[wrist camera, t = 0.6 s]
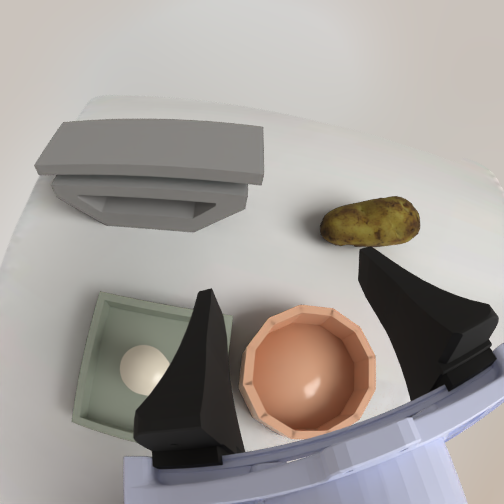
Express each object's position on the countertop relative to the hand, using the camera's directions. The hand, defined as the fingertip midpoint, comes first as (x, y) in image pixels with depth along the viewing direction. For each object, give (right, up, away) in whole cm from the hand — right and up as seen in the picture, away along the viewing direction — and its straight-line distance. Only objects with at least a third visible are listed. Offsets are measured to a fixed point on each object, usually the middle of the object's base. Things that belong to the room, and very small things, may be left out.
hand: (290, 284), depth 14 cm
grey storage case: (-15, +8, +23) cm, 29 cm away
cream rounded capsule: (-11, -11, +12) cm, 20 cm away
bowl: (+3, -11, +15) cm, 19 cm away
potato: (+13, +3, +25) cm, 29 cm away
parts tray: (-12, -11, +13) cm, 20 cm away
